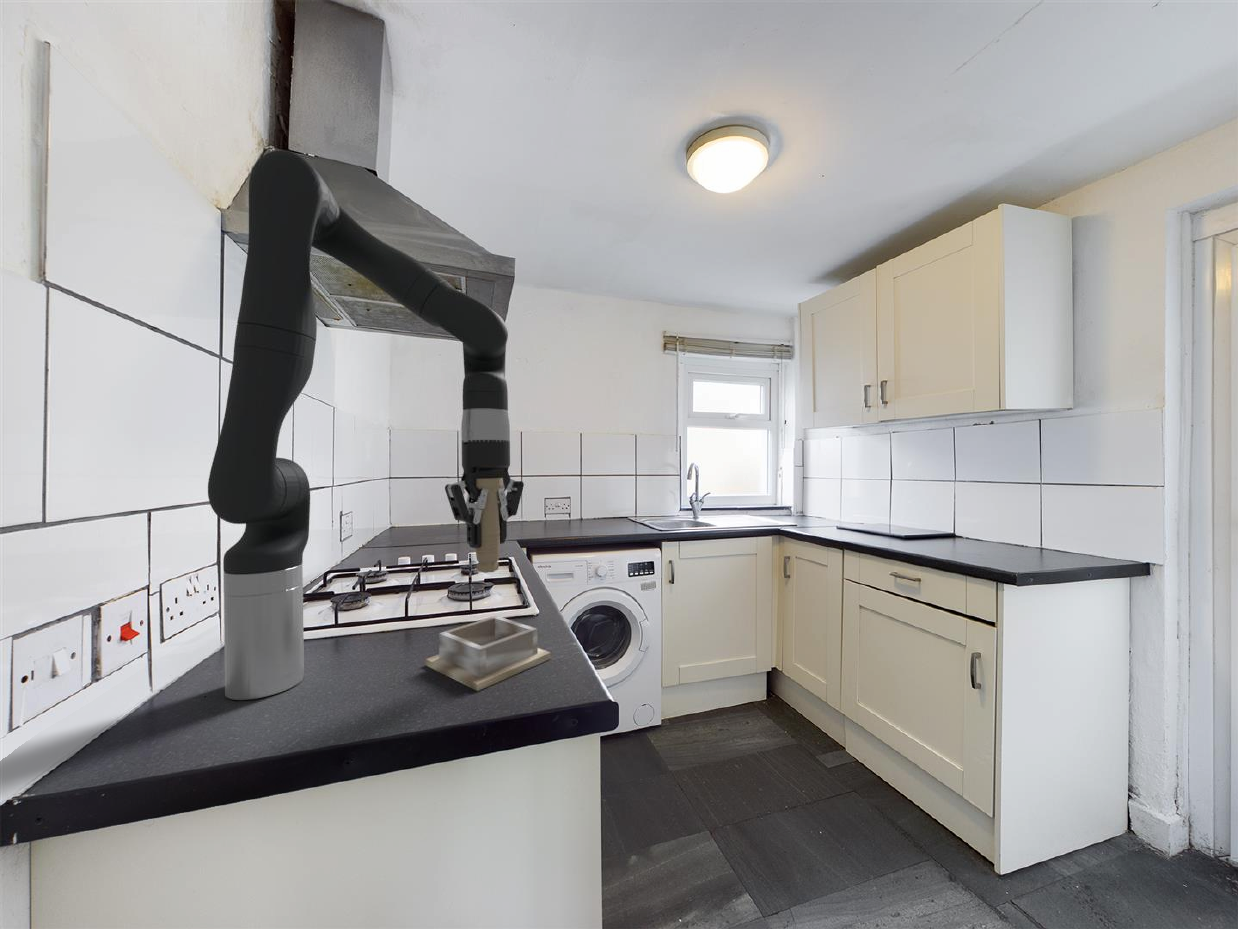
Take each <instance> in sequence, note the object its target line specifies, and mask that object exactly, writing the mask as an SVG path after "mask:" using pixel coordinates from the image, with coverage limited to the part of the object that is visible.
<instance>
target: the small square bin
mask: <svg viewBox="0 0 1238 929" xmlns="http://www.w3.org/2000/svg"><path fill="white" fill-rule="evenodd" d="M538 639H539V638H538V628H536V627H534V626H531V625H526V624H523V623H521V622H517V621H515V620H512V619H507V618H505V617H501V616H498V615H494V616H491V617H488V618H484V619H480V620H477V621H474V622H471V623H468V624H464V625H461V626H459V627H455V628H452V629H448V630H445V631H442V632H439V633H438V644H439V646H438V648H439V649H438V654H436V655H433V656H431V657H428V658H425V666H426V667H428V668H430V669H432V670H434V671H435V672H439V673H440V674H443V676H447V677H448V678H451V679H453V680H454V681H457V682H458V683H461V684H462V685H465V686H466V687H468V688H470V689H472V690H475V691H476V692H479V691H481V690H483V689H486V688H488V687H490V686H493V685H495V684H497V683H499V682H501V681H504V680H506V679H509V678H511V677H513V676H515V675H517V674H519V673H521V672H524V671H526V670H529V669H530V668H531V669H532V668H533V667H535V666H537V665H539V664H543V663H545V662H546V661H549V660H551V659H552V652H550V651H547V650H545V649H542V648H539V646H538V645H539V644H538Z"/></svg>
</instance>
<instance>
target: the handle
mask: <svg viewBox="0 0 1238 929" xmlns="http://www.w3.org/2000/svg"><path fill="white" fill-rule="evenodd" d="M476 486H477V487H478V488H479V489H486V490H488V491H489V492H488V494H487V499H486V504H485V508H484V509H483V510H482V514H481V518H480V522H479V524H481V547H480V548H475V555H476V560H477V561H476V562H478V563H476V568H477V571H478V572H479V573H484V574H487V573H494V572H496V571H499V566H500V565H499V564H500V562H499V560H500V559H499V558H500V552H501V551H500V550H501V548H500V546H501V544H500V526H499V512H498V496H497V491H498V489H499V488H501V487H502V486H503V478H486V479H476Z"/></svg>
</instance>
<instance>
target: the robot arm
mask: <svg viewBox="0 0 1238 929" xmlns="http://www.w3.org/2000/svg"><path fill="white" fill-rule="evenodd" d="M247 239H248V241H247V242H248V243H247V244H248V245H247V253H246V255H247V256H246V263H245V268H244V276H243V281H242V289H241V297H240V298H241V299H240V305H239V312H238V317H237V322H236V323H237V324H236V330H235V338H234V344H233V355H232V356H233V357H232V359H233V360H232V367H231V368H232V369H231V374H230V381H229V385H228V386H229V387H228V392H227V398H226V406H225V412H224V416H223V421H222V426H221V431H220V433H219V437H218V441H217V444H216V449H215V452H214V456H213V459H212V460H213V461H212V463H211V466H210V467H211V468H210V471H209V475H208V476H209V477H208V482H207V497H208V500H209V501H208V502H209V504H210V507H211V509H212V511H213V512H214V513H215V515H216V516H217V517H219V518H220V519H221V520H223V521H224V522H226V523H230V524H234V525H235V524H236V525H242V524H243V525H245V528H244V531H243V534H242V536H241V537H240V538H239V540H237V542H235V543H234V544H233V545H232V546H231V547H230V548H228V550H226V551H225V553H224V555H223V561H222V562H223V564H222V566H223V570H222V571H223V615H224V616H223V617H224V618H223V619H224V620H223V623H224V624H223V625H224V626H223V628H224V630H223V631H224V632H223V633H224V635H223V636H224V639H223V640H224V696H225V697H226V698H227V699H229V700H235V701H237V700H238V701H245V700H255V699H260V698H264V697H270V696H272V695H276V694H279V693H282V692H284V691H288V690H289V689H291V688H293V687H295V686H296V685H298V684H300V683H301V682H302V681H303V679H304V676H305V673H304V672H305V667H304V666H305V664H304V662H305V659H304V658H305V657H304V656H305V654H304V652H305V651H304V648H305V647H304V645H305V644H304V643H305V642H304V584H303V583H304V580H303V579H304V578H303V573H304V572H303V559H304V558H303V555H304V552H305V549H306V546H307V544H308V541H309V536H310V534H309V533H310V516H311V514H310V513H311V489H310V482H309V479H308V476H307V473H306V471H305V470H304V468H303V467H302V466H301V465H299V464H298V463H297V462H295V461H294V460H292V459H288V458H283V457H277V453H278V452H277V451H278V443H279V436H280V432H281V430H282V425H283V422H284V420H285V418H286V415H288V413H289V411H290V409H291V408H292V407H293V405H294V403H295V402H296V400H297V399H298V397H299V396H300V395H301V393H302V392H303V389H304V388H305V387H306V385H307V383H308V381H309V379H310V377H311V374H312V371H313V367H314V366H313V365H314V358H315V353H316V352H315V351H316V350H315V349H316V343H317V330H318V326H317V313H316V304H315V299H314V292H313V286H312V280H311V269H310V268H311V267H310V266H311V261H310V260H311V251H312V248H314V249H316V250H318V251H320V252H322V253H325V255H328V256H330V257H331V258H334V259H336V260H337V261H339V262H341V263H342V264H343V265H345V266H347V267H349V268H350V269H352V270H353V271H355V272H357V273H358V274H359V275H361V276H362V277H364V278H365V279H367V280H368V281H370V282H371V284H372V283H373V284H374V285H375V286H376V287H378V288H379V289H380V290H382V291H383V292H384V293H386V294H387V295H388V296H389V297H391V298H392V299H394V300H395V301H396V302H397V303H399V304H400V305H402V307H405V308H406V309H407V310H409V311H410V312H411V313H413V314H415V315H416V316H417V317H418V318H420V319H421V320H423V321H424V322H426V323H427V324H429V325H431V326H433V327H436V328H438V327H440V328H441V329H443V330H444V331H445V332H447V333H449V334H450V335H452V336H453V337H455V338H456V339H457V340H459V341H460V342H461V343H462V354H463V356H462V357H463V368H464V369H463V371H464V372H463V373H464V374H463V375H464V379H463V382H462V383H463V384H462V415H461V417H462V418H461V425H460V426H461V428H460V429H461V433H460V434H461V436H460V437H461V467H462V470H463V473H462V475H461V479H460V481H456V482H455V483H449V484H448V483H446V485H445V486H444V491H445V494H446V496H447V500H448V502H449V505H450V509H451V512H452V515H453V517H454V519H455V520H456V521H460V522H464V523H465V525H466V542H467V543H466V544H468V545H469V547H470V548H473V549H476V548H480V547H481V524H479V522H480V518H481V514H482V510H483V509H484V508H485V504H486V499H487V494H488V492H489V491H488V490H486V489H479V488H478V487H477V486H476V479H486V478H503V486H502V487H501V488H499V489H498V491H497V496H498V512H499V526H500V545H503V544H505V542H506V540H507V537H508V536H507V535H508V534H507V533H508V532H507V529H508V527H507V522H508V519H509V518H512V517H515V516H516V515H517V514H518V510H519V506H520V501H521V498H522V493H523V489H524V486H525V483H524V481H519V480H518V481H517V480H514V479H511V475H510V474H509V468H510V466H511V444H510V443H511V440H510V439H511V437H510V436H511V431H510V430H511V429H510V427H511V426H510V420H509V419H510V418H509V402H508V401H509V396H508V395H509V394H508V393H509V392H508V384H507V379H506V357H507V356H506V354H507V353H506V352H507V342H508V338H509V330H508V327H507V324H506V322H505V321H504V320H503V318H502V317H501V316H500V315H499V314H498V313H497V312H496V311H495V310H493V309H492V308H490V307H489V306H487V305H486V304H485V303H483V302H481V301H479V300H478V299H475V298H474V297H472V296H470V295H468V294H467V293H464V292H462V291H461V290H458V289H456V288H455V287H454V286H453V285H451V284H450V283H449V282H448V281H446V280H445V279H444V278H442V277H441V276H440V275H438V274H437V272H434V271H433V270H432V269H430V268H429V267H428V266H426V265H425V264H424V263H422V262H421V261H419V260H417V259H416V258H414V257H412V256H411V255H409V254H407V253H405V252H403V251H401V250H399V249H398V248H396V247H393V246H391V245H389V244H387V243H386V242H383V241H382V240H381V239H379V238H378V237H376V236H374V235H373V234H372V233H370V232H369V231H367V230H366V229H365V228H364V227H363V226H362V225H360V224H359V223H358V222H357V221H356V220H355V219H354V218H352V216H350V214H348V212H347V211H346V210H344V209H343V208H342V207H341V205H340V204H339V203H338V202H337V201H336V198H335V197H334V195H333V193H332V192H331V190H330V188H329V187H328V185H327V184H326V182H325V181H324V179H323V177H322V176H321V175H320V173H319V172H318V170H317V169H316V168H314V166H313V165H311V163H309V161H307V160H306V159H305V158H304V157H302V156H301V155H299V154H297V153H295V152H292V151H290V150H285V149H284V150H283V149H282V150H281V149H279V150H272V151H269V152H267V153H266V154H264V155H262V156H261V157H259V159H258V160H257V161H256V162H255V164H254V165H253V167H252V170H251V173H250V176H249V179H248V238H247ZM466 492H467V498H466V499H465V497H464V495H465V493H466Z"/></svg>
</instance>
